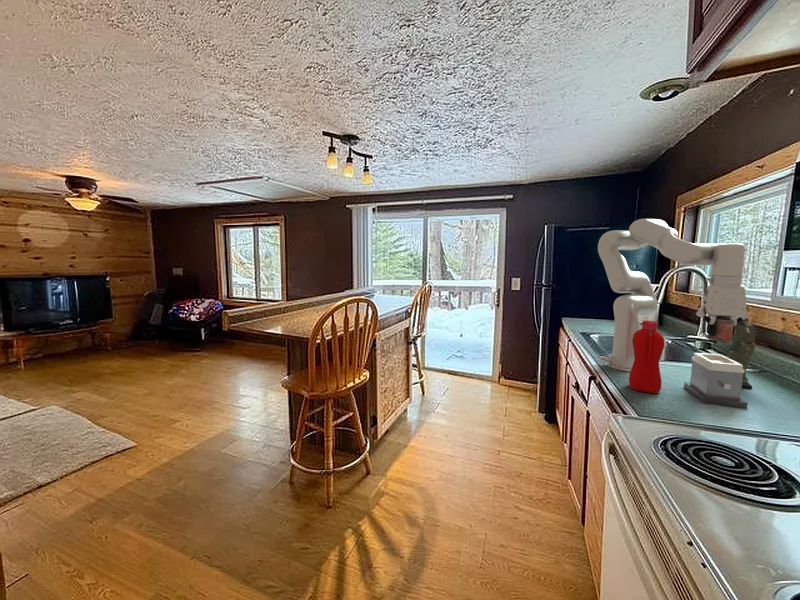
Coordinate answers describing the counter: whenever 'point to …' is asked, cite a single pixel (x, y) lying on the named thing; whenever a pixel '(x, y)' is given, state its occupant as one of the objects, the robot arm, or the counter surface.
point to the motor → (716, 380)
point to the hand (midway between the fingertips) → (719, 335)
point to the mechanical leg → (743, 347)
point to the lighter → (723, 330)
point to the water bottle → (647, 358)
